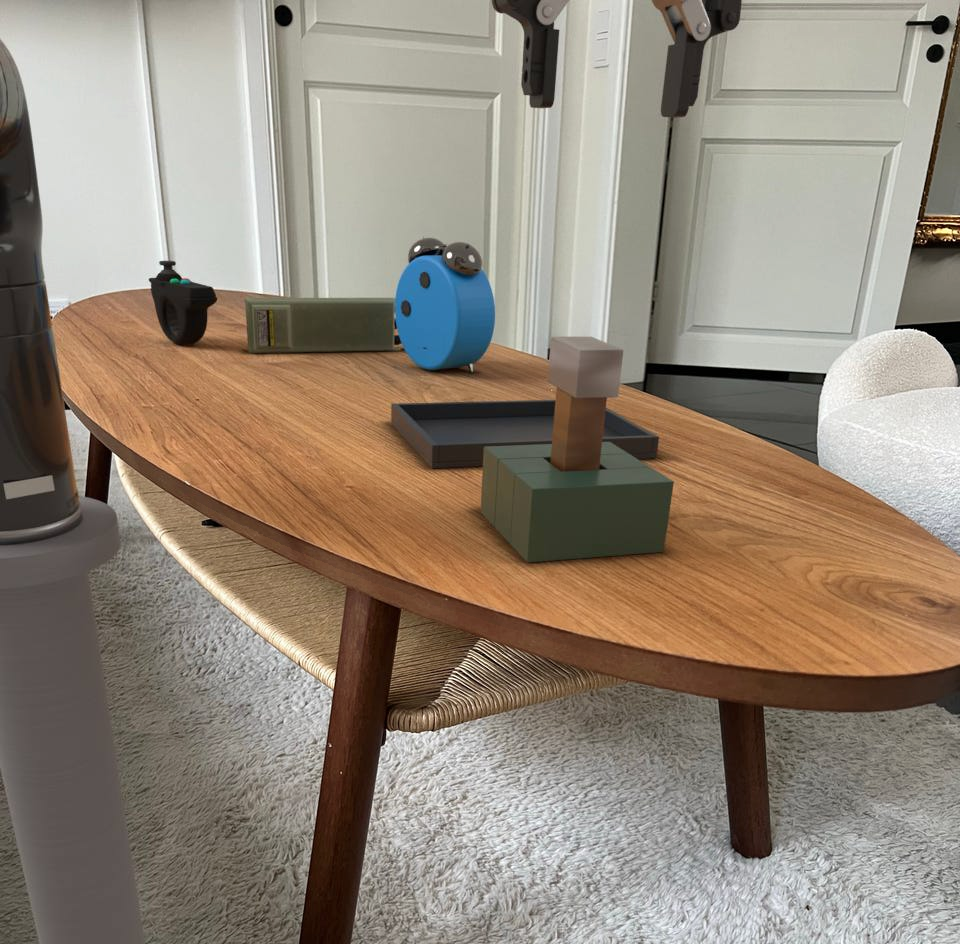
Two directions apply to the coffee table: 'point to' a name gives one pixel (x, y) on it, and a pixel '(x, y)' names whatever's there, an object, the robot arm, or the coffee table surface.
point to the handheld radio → (320, 324)
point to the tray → (498, 429)
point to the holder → (574, 504)
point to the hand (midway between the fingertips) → (608, 112)
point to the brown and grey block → (581, 398)
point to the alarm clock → (444, 305)
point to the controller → (181, 305)
